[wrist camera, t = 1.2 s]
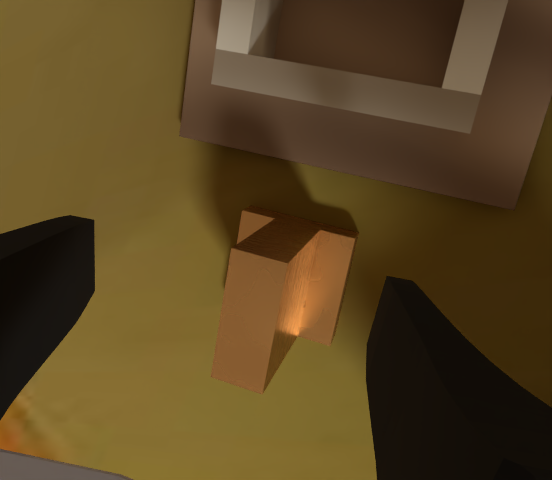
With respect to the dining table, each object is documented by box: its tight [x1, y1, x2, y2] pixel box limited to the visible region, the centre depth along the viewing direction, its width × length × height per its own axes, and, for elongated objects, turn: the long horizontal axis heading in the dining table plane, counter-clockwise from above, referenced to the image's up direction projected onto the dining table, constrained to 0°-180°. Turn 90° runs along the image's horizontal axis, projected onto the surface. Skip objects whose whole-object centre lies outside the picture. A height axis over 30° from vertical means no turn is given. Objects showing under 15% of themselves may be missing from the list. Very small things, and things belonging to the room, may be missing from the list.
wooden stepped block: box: [211, 206, 359, 394], centre depth 20 cm, size 5×5×6 cm
